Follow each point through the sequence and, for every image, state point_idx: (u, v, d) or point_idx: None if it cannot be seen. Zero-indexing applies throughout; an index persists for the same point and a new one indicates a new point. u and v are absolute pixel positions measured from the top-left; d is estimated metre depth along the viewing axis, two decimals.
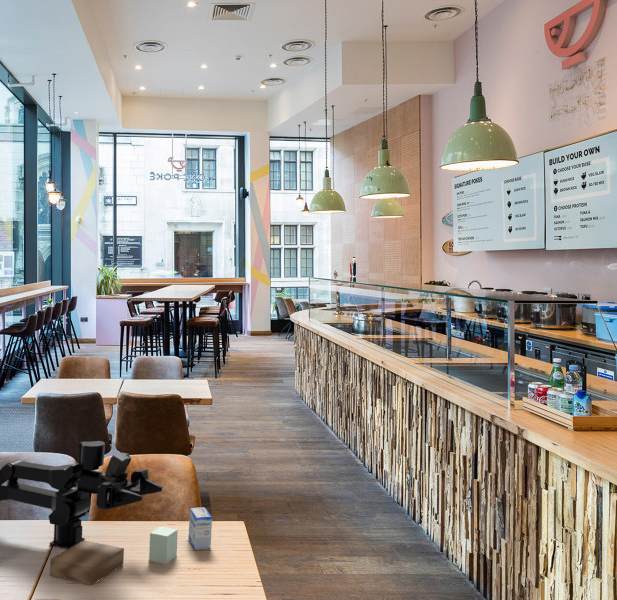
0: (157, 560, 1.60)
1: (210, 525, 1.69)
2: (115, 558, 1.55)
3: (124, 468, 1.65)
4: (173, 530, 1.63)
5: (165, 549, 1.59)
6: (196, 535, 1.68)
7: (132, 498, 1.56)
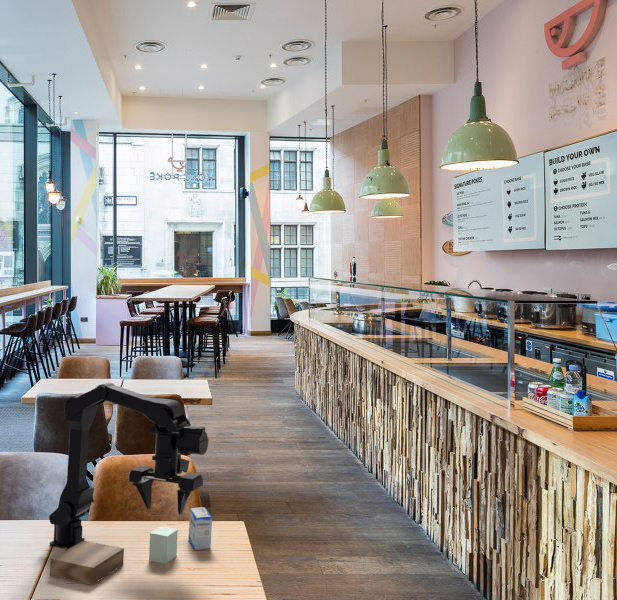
0: (157, 560, 1.60)
1: (210, 525, 1.69)
2: (115, 558, 1.55)
3: None
4: (173, 530, 1.63)
5: (165, 549, 1.59)
6: (196, 535, 1.68)
7: (183, 506, 1.60)
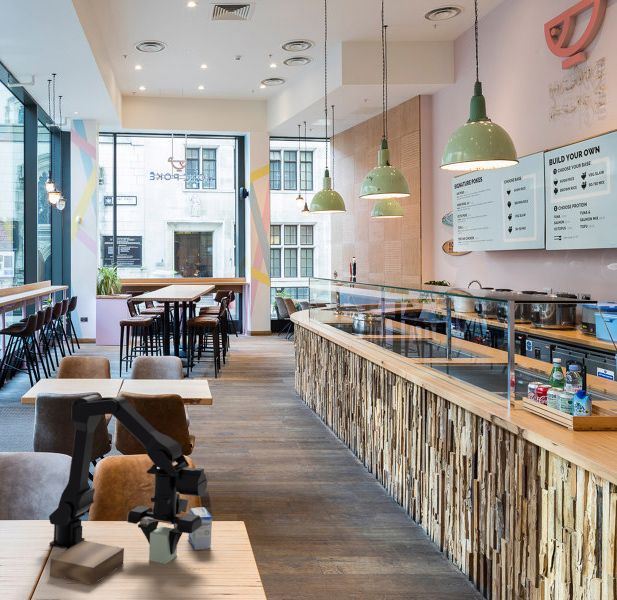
0: (157, 560, 1.60)
1: (210, 525, 1.69)
2: (115, 558, 1.55)
3: None
4: None
5: (165, 549, 1.59)
6: (196, 535, 1.68)
7: (175, 546, 1.61)
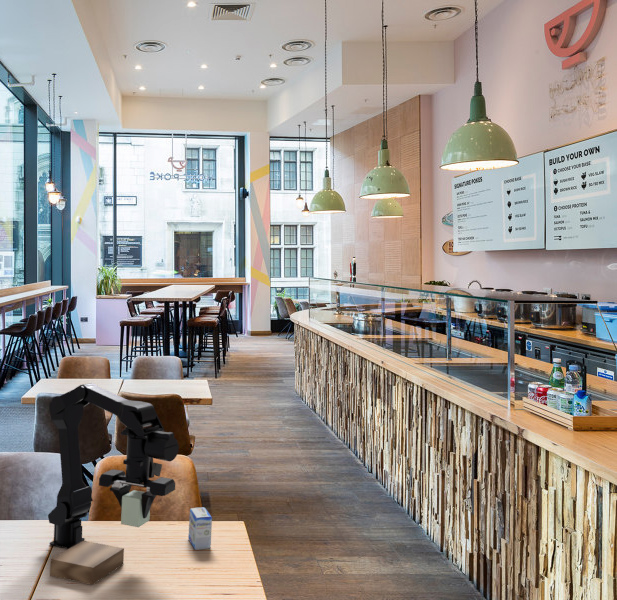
0: (129, 523, 1.57)
1: (210, 525, 1.69)
2: (115, 558, 1.55)
3: None
4: None
5: (137, 512, 1.56)
6: (196, 535, 1.68)
7: (147, 510, 1.58)
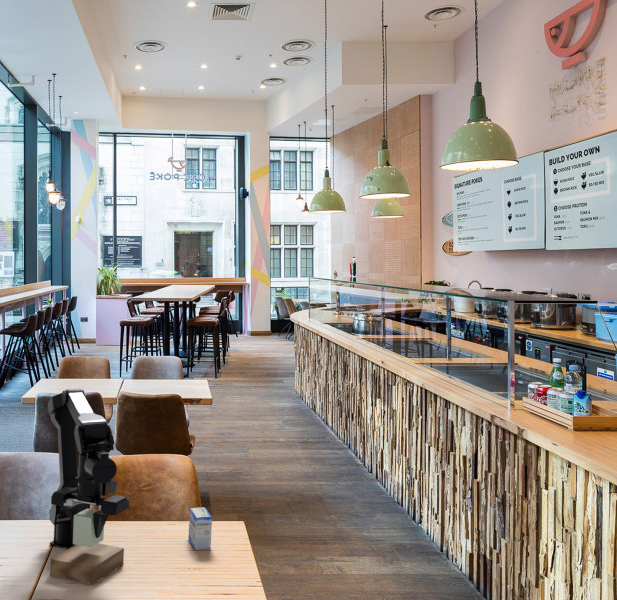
0: (81, 543, 1.51)
1: (210, 525, 1.69)
2: (115, 558, 1.55)
3: None
4: None
5: (89, 532, 1.51)
6: (196, 535, 1.68)
7: (100, 529, 1.53)
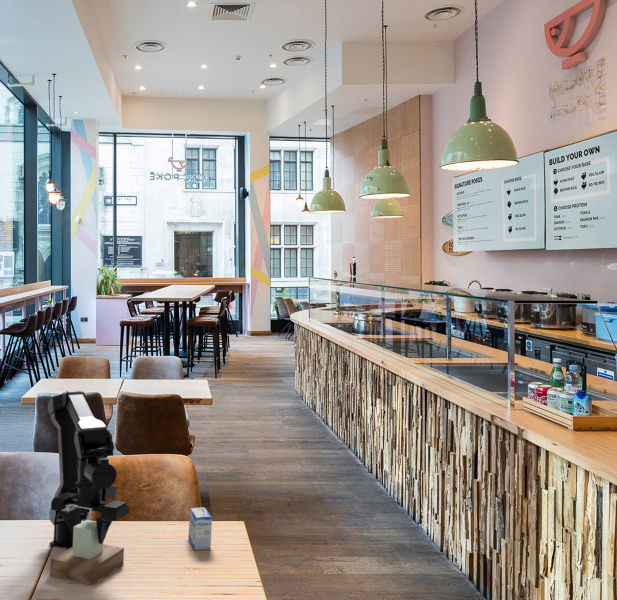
0: (80, 555, 1.51)
1: (210, 525, 1.69)
2: (115, 558, 1.55)
3: None
4: None
5: (89, 543, 1.51)
6: (196, 535, 1.68)
7: (103, 535, 1.52)
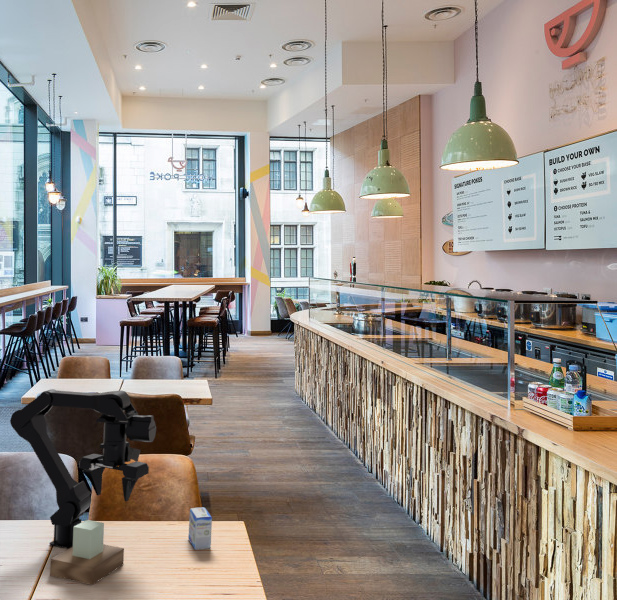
0: (80, 555, 1.51)
1: (210, 525, 1.69)
2: (115, 558, 1.55)
3: None
4: (99, 524, 1.55)
5: (89, 543, 1.51)
6: (196, 535, 1.68)
7: (129, 493, 1.65)
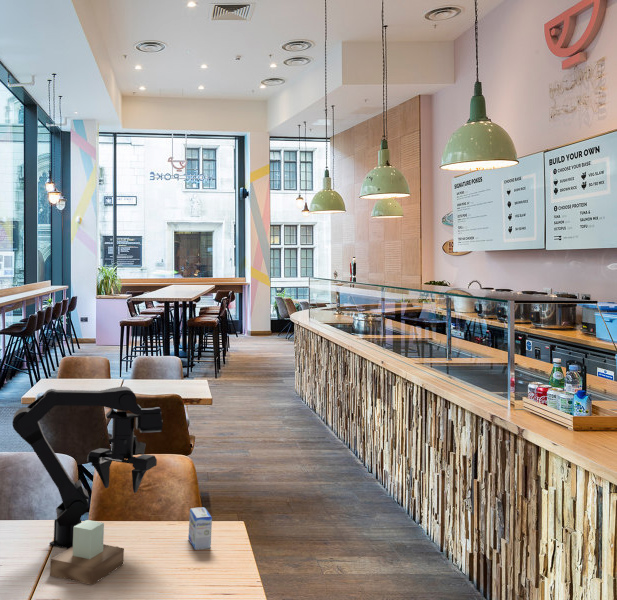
0: (80, 555, 1.51)
1: (210, 525, 1.69)
2: (115, 558, 1.55)
3: None
4: (99, 524, 1.55)
5: (89, 543, 1.51)
6: (196, 535, 1.68)
7: (137, 485, 1.72)
